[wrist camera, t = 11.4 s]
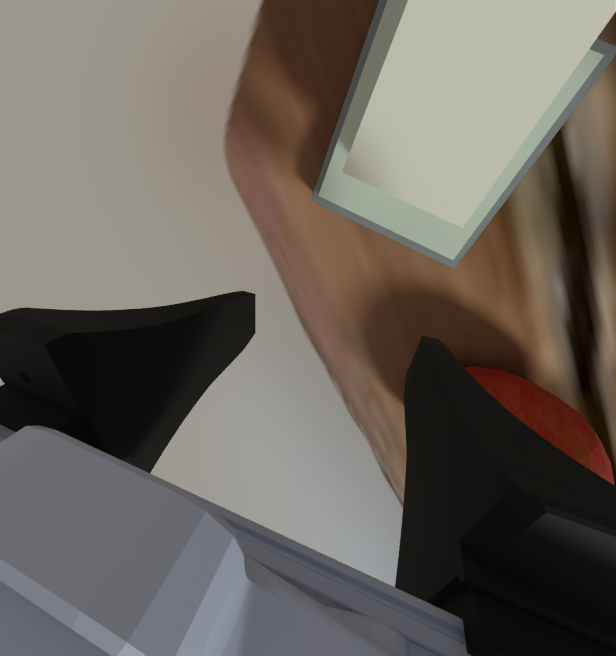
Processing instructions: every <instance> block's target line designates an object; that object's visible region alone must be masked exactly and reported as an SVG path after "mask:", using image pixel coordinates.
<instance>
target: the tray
mask: <svg viewBox="0 0 616 656" xmlns="http://www.w3.org/2000/svg"><path fill="white" fill-rule="evenodd" d="M407 2H408V0H379V2H378V5H377V8H376V11H375V14H374V17H373V19H372V22H371V25H370V28H369V31H368V34H367V37H366V40H365V43H364V46H363V49H362V52H361V55H360V57H359V60H358V63H357V66H356V69H355V72H354V75H353V78H352V81H351V84H350V87H349V90H348V93H347V96H346V98H345V101H344V104H343V107H342V110H341V113H340V116H339V119H338V122H337V125H336V128H335V131H334V134H333V136H332V139H331V142H330V145H329V148H328V151H327V154H326V157H325V160H324V163H323V166H322V169H321V172H320V174H319V177H318V180H317V183H316V186H315V189H314V192H313V195H312V198H311V201H313V202H315V203H317V204H320V205H322V206H324V207H326V208H328V209H330V210H332V211H334V212H336V213H338V214H340V215H342V216H344V217H347V218H349V219H351V220H353V221H355V222H357V223H359V224H361V225H363V226H365V227H367V228H369V229H372V230H374V231H376V232H378V233H380V234H382V235H384V236H386V237H388V238H390V239H392V240H394V241H396V242H399V243H401V244H403V245H405V246H407V247H409V248H411V249H413V250H415V251H417V252H419V253H421V254H423V255H426V256H428V257H430V258H432V259H434V260H436V261H438V262H440V263H442V264H444V265H446V266H448V267H450V268H453V269H454V268H455V267H456V266H457V264H458V263H459V262H460V260H461V259H462V258H463V256H464V255H465V254H466V252H467V251H468V250H469V248H470V247H471V246H472V244H473V243H474V242H475V241H476V239H477V238H478V237H479V235H480V234H481V233H482V231H483V230H484V229H485V227H486V226H487V225H488V223H489V222H490V221H491V219H492V218H493V217H494V215H495V214H496V213H497V211H498V210H499V209H500V207H501V206H502V205H503V203H504V202H505V201H506V199H507V198H508V197H509V196H510V194H511V193H512V192H513V190H514V189H515V188H516V186H517V185H518V184H519V182H520V181H521V180H522V178H523V177H524V176H525V174H526V173H527V172H528V170H529V169H530V168H531V166H532V165H533V164H534V162H535V161H536V160H537V158H538V157H539V156H540V154H541V153H542V152H543V151H544V149H545V148H546V147H547V145H548V144H549V143H550V141H551V140H552V139H553V137H554V136H555V135H556V133H557V132H558V131H559V129H560V128H561V127H562V125H563V124H564V123H565V121H566V120H567V119H568V117H569V116H570V115H571V113H572V112H573V111H574V110H575V108H576V107H577V106H578V104H579V103H580V102H581V100H582V99H583V98H584V96H585V95H586V94H587V92H588V91H589V90H590V88H591V87H592V86H593V84H594V83H595V82H596V80H597V79H598V78H599V76H600V75H601V74H602V72H603V71H604V70H605V68H606V67H607V66H608V65H609V63H610V62H611V61H612V59H613V58H614V57H615V55H616V46H614V45H612V44H609V43H607V42H604V41H601V40H599V39H596V40H595V42H594V43H593V44H592V46H591V47H590V49H589V50H588V51H587V53H586V54H585V56H584V57H583V58H582V60H581V61H580V63H579V64H578V66H577V67H576V68H575V70H574V71H573V73H572V74H571V75H570V77H569V78H568V80H567V81H566V83H565V84H564V85H563V87H562V88H561V90H560V91H559V92H558V94H557V95H556V97H555V98H554V100H553V101H552V102H551V104H550V105H549V107H548V108H547V109H546V111H545V112H544V114H543V115H542V117H541V118H540V119H539V121H538V122H537V124H536V125H535V126H534V128H533V129H532V131H531V132H530V134H529V135H528V136H527V138H526V139H525V141H524V142H523V143H522V145H521V146H520V148H519V149H518V151H517V152H516V153H515V155H514V156H513V158H512V159H511V160H510V162H509V163H508V165H507V166H506V168H505V169H504V170H503V172H502V173H501V175H500V176H499V177H498V179H497V180H496V182H495V183H494V184H493V186H492V187H491V189H490V190H489V192H488V193H487V194H486V196H485V197H484V199H483V200H482V201H481V203H480V204H479V206H478V207H477V209H476V210H475V211H474V213H473V214H472V216H471V217H470V218H469V220H468V221H467V223H466V224H465V226H464V227H463V228H461V227H459V226H457V225H455V224H452V223H450V222H448V221H446V220H444V219H442V218H440V217H437V216H435V215H433V214H431V213H429V212H427V211H425V210H423V209H420V208H418V207H416V206H414V205H412V204H410V203H408V202H405V201H403V200H401V199H399V198H397V197H395V196H393V195H390V194H388V193H386V192H384V191H382V190H380V189H378V188H375V187H373V186H371V185H369V184H367V183H365V182H363V181H360V180H358V179H356V178H354V177H352V176H350V175H348V174H346V173H343V172H342V171H343V168H344V165H345V163H346V160H347V158H348V155H349V152H350V150H351V147H352V145H353V142H354V139H355V137H356V134H357V132H358V129H359V126H360V124H361V121H362V119H363V116H364V113H365V111H366V108H367V106H368V103H369V100H370V98H371V95H372V93H373V90H374V87H375V85H376V82H377V80H378V77H379V74H380V72H381V69H382V67H383V64H384V62H385V59H386V56H387V54H388V51H389V49H390V46H391V43H392V41H393V38H394V36H395V33H396V30H397V28H398V25H399V23H400V20H401V17H402V15H403V12H404V10H405V7H406V4H407Z"/></svg>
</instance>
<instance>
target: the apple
mask: <svg viewBox="0 0 616 656" xmlns="http://www.w3.org/2000/svg"><path fill="white" fill-rule="evenodd" d="M465 369H466V370H467V371H468V372H469V373H470V374H471V375H472V377H473V378H474V379H475V380H476V381H477V382H478V383H479V384H480V385H481V386H482V387H483V388H484V389H485V390H486V391H487V392H488V393H489V394H490V395H492V396H493V397H494V398H495V399H496V400H497V401H498V402H499V403H500V404H502V405H503V406H504V407H505V408H506V409H507V410H509V411H510V412H511V413H512V414H513V415H515V416H516V417H517V418H518V419H519V420H521V421H522V422H523V423H525V424H526V425H527V426H528V427H530V428H531V429H532V430H534V431H535V432H536V433H538V434H539V435H540V436H542V437H543V438H545V439H546V440H547V441H549V442H550V443H551V444H553V445H554V446H555V447H557V448H558V449H560V450H561V451H563V452H564V453H566V454H567V455H569V456H570V457H571V458H573V459H574V460H576V461H577V462H579V463H581V464H582V465H584V466H585V467H587V468H588V469H590V470H591V471H593V472H594V473H596V474H598V475H599V476H601V477H602V478H604V479H605V480H607V481H608V482H610V483H612V484H613V485H615V483H614V478H613V472H612V467H611V462H610V460H609V458H608V456H607V454H606V452H605V449H604V447H603V445H602V443H601V442H600V440H599V438H598V436H597V435H596V433H595V431H594V430H593V428H592V427H591V425H590V424H589V423H588V422H587V421H586V419H585V418H584V417H583V416H582V415H581V414H580V413H579V412H577V411H576V410H574V409H573V408H572V407H570V406H569V405H567V404H566V403H564V402H563V401H561V400H560V399H558V398H557V397H555V396H554V395H553V394H551V393H549V392H548V391H546V390H544V389H543V388H541V387H539V386H538V385H536V384H534V383H533V382H531V381H528V380H526V379H524V378H521V377H519V376H516V375H514V374H511V373H509V372H506V371H502V370H496V369H491V368H485V367H479V366H471V367H465Z"/></svg>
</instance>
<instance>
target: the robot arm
mask: <svg viewBox="0 0 616 656" xmlns="http://www.w3.org/2000/svg"><path fill="white" fill-rule="evenodd" d="M254 334H255V294H253V293H249V292H245V291H238V292H232V293H227V294H222V295H218V296H213V297H209V298H204V299H200V300H195V301H190V302H185V303H179V304H174V305H168V306H161V307H153V308H143V309H127V310H109V311H108V310H106V311H105V310H104V311H83V310H79V311H77V310H55V309H38V308H37V309H36V308H18V309H13V310H10V311H7V312H4V313H1V314H0V378H1V379H2V381H3V382H4V383H5V384H4V385H2V386H0V656H616V486H615V485H613V484H612V483H610V482H608V481H607V480H605V479H604V478H602V477H601V476H599V475H598V474H596V473H594V472H593V471H591V470H590V469H588V468H587V467H585V466H584V465H582V464H581V463H579V462H577V461H576V460H574V459H573V458H571V457H570V456H569V455H567V454H566V453H564V452H563V451H561V450H560V449H558V448H557V447H555V446H554V445H553V444H551V443H550V442H549V441H547V440H546V439H545V438H543V437H542V436H540V435H539V434H538V433H536V432H535V431H534V430H532V429H531V428H530V427H528V426H527V425H526V424H525V423H523V422H522V421H521V420H519V419H518V418H517V417H516V416H515V415H513V414H512V413H511V412H510V411H509V410H507V409H506V408H505V407H504V406H503V405H502V404H500V403H499V402H498V401H497V400H496V399H495V398H494V397H493V396H492V395H490V394H489V393H488V392H487V391H486V390H485V389H484V388H483V387H482V386H481V385H480V384H479V383H478V382H477V381H476V380H475V379H474V378H473V377H472V375H471V374H470V373H469V372H468V371H467V370H466V369H465V368H464V367H463V366H462V365H461V363H460V362H459V361H458V360H457V359H456V358H455V357H454V355H453V354H452V353H451V352H450V351H449V350H448V349H447V347H446V346H445V345H444V344H443V343H442V342H441V341H440V340H438V339H434V338H430V337H426V336H422V338H421V341H420V343H419V345H418V348H417V350H416V353H415V355H414V358H413V360H412V363H411V365H410V367H409V370H408V372H407V375H406V382H405V392H404V407H405V427H406V446H407V462H406V478H405V493H404V506H403V518H402V528H401V539H400V550H399V558H398V567H397V576H396V584H395V587H393V586H391V585H389V584H386V583H384V582H382V581H380V580H378V579H376V578H373V577H371V576H369V575H367V574H365V573H362V572H360V571H358V570H356V569H354V568H352V567H350V566H348V565H345V564H343V563H341V562H339V561H337V560H335V559H332V558H330V557H328V556H326V555H324V554H322V553H319V552H317V551H315V550H313V549H311V548H309V547H307V546H305V545H302V544H300V543H298V542H296V541H294V540H292V539H289V538H287V537H285V536H283V535H281V534H279V533H277V532H274V531H272V530H270V529H268V528H266V527H264V526H261V525H259V524H257V523H255V522H253V521H251V520H249V519H246V518H244V517H242V516H240V515H238V514H236V513H233V512H231V511H229V510H227V509H225V508H223V507H221V506H218V505H216V504H214V503H212V502H210V501H208V500H205V499H203V498H201V497H199V496H197V495H195V494H193V493H190V492H188V491H186V490H184V489H182V488H180V487H178V486H176V485H174V484H171V483H169V482H167V481H165V480H163V479H161V478H158V477H156V476H154V475H152V474H150V472H151V471H152V469H153V467H154V466H155V464H156V462H157V461H158V459H159V458H160V456H161V454H162V452H163V451H164V449H165V448H166V446H167V445H168V443H169V442H170V440H171V438H172V437H173V436H174V434H175V433H176V431H177V429H178V428H179V426H180V425H181V424H182V422H183V420H184V419H185V418H186V416H187V415H188V414H189V412H190V411H191V409H192V408H193V407H194V405H195V404H196V403H197V401H198V400H199V399H200V397H201V396H202V395H203V393H204V392H205V391H206V389H207V388H208V387H209V386H210V385H211V384H212V382H213V381H214V380H215V379H216V378H217V377H218V376H219V375H220V374H221V373H222V372H223V371H224V370H225V369H226V368H227V366H229V364H230V363H231V362H232V361H233V360H234V359H235V358H236V357H237V356H238V355H239V354H240V353H241V352H242V351H243V349H244V348H245V347H246V345H247V344H248V343H249V341H250V340H251V338H252V337H253V335H254Z"/></svg>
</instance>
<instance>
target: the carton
mask: <svg viewBox="0 0 616 656" xmlns="http://www.w3.org/2000/svg"><path fill="white" fill-rule="evenodd" d="M615 12H616V0H408V2H407V4H406V7H405V10H404V12H403V15H402V17H401V20H400V23H399V25H398V28H397V30H396V33H395V36H394V38H393V41H392V43H391V46H390V49H389V51H388V54H387V56H386V59H385V62H384V64H383V67H382V69H381V72H380V74H379V77H378V80H377V82H376V85H375V87H374V90H373V93H372V95H371V98H370V100H369V103H368V106H367V108H366V111H365V113H364V116H363V119H362V121H361V124H360V126H359V129H358V132H357V134H356V137H355V139H354V142H353V145H352V147H351V150H350V152H349V155H348V158H347V160H346V163H345V165H344V168H343V171H342V172H343V173H346V174H348V175H350V176H352V177H354V178H356V179H358V180H360V181H363V182H365V183H367V184H369V185H371V186H373V187H375V188H378V189H380V190H382V191H384V192H386V193H388V194H390V195H393V196H395V197H397V198H399V199H401V200H403V201H405V202H408V203H410V204H412V205H414V206H416V207H418V208H420V209H423V210H425V211H427V212H429V213H431V214H433V215H435V216H437V217H440V218H442V219H444V220H446V221H448V222H450V223H452V224H455V225H457V226H459V227H461V228H463V227H464V226H465V224H466V223H467V221H468V220H469V218H470V217H471V216H472V214H473V213H474V211H475V210H476V209H477V207H478V206H479V204H480V203H481V201H482V200H483V199H484V197H485V196H486V194H487V193H488V192H489V190H490V189H491V187H492V186H493V184H494V183H495V182H496V180H497V179H498V177H499V176H500V175H501V173H502V172H503V170H504V169H505V168H506V166H507V165H508V163H509V162H510V160H511V159H512V158H513V156H514V155H515V153H516V152H517V151H518V149H519V148H520V146H521V145H522V143H523V142H524V141H525V139H526V138H527V136H528V135H529V134H530V132H531V131H532V129H533V128H534V126H535V125H536V124H537V122H538V121H539V119H540V118H541V117H542V115H543V114H544V112H545V111H546V109H547V108H548V107H549V105H550V104H551V102H552V101H553V100H554V98H555V97H556V95H557V94H558V92H559V91H560V90H561V88H562V87H563V85H564V84H565V83H566V81H567V80H568V78H569V77H570V75H571V74H572V73H573V71H574V70H575V68H576V67H577V66H578V64H579V63H580V61H581V60H582V58H583V57H584V56H585V54H586V53H587V51H588V50H589V49H590V47H591V46H592V44H593V43H594V42H595V40H596V39H597V37H598V36H599V34H600V33H601V32H602V30H603V29H604V27H605V26H606V25H607V23H608V22H609V20H610V19H611V17H612V16H613V15H614V13H615Z"/></svg>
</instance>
